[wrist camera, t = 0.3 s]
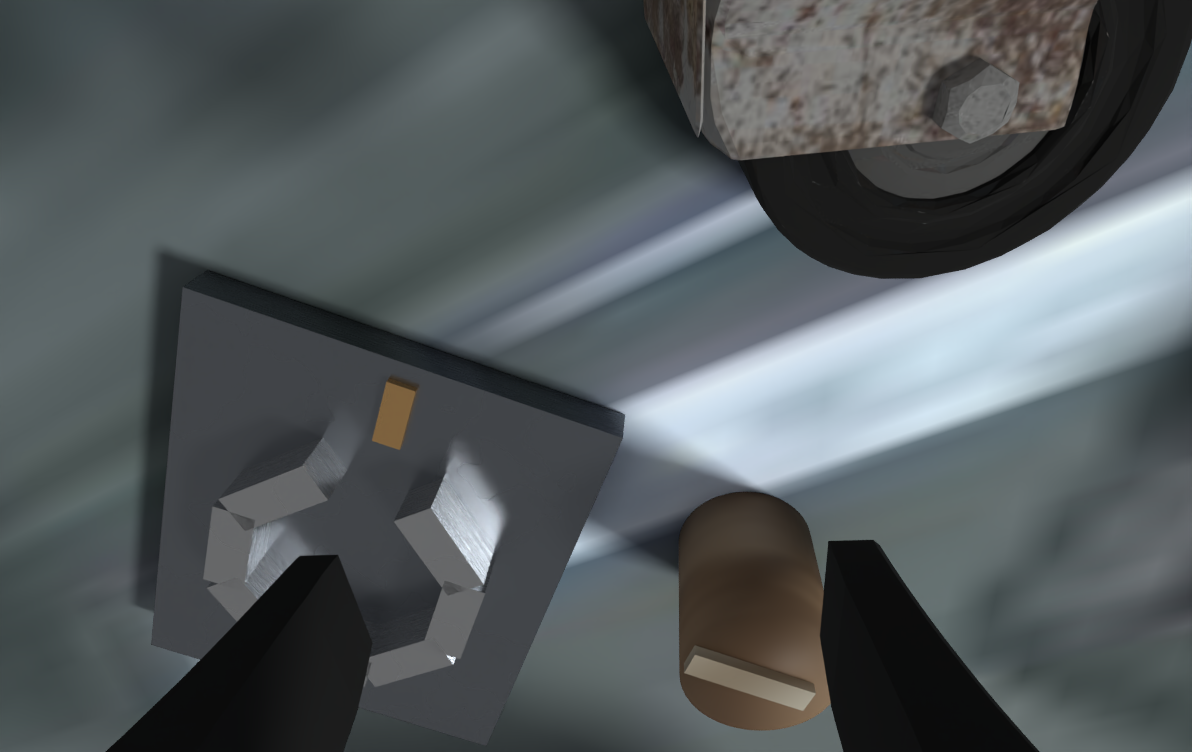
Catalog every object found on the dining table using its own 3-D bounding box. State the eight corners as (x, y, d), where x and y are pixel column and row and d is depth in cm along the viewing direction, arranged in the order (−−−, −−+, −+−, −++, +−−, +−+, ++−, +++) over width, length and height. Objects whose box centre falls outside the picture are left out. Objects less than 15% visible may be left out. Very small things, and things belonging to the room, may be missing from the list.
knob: (834, 517, 23) (875, 659, 18) (775, 608, 25) (798, 757, 20) (709, 474, 23) (718, 607, 18) (659, 570, 25) (655, 712, 20)
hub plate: (493, 716, 29) (477, 782, 26) (170, 618, 28) (125, 677, 25) (625, 414, 22) (619, 468, 20) (207, 270, 21) (150, 308, 19)
